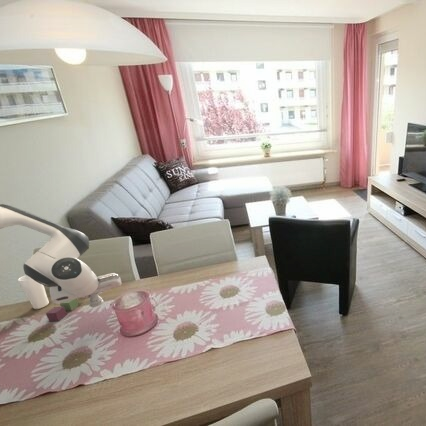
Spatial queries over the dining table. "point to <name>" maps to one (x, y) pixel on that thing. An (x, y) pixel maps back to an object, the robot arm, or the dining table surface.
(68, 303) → the block
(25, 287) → the white tall hollow cylinder
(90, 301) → the rook chess piece
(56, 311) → the block
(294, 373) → the dining table surface
